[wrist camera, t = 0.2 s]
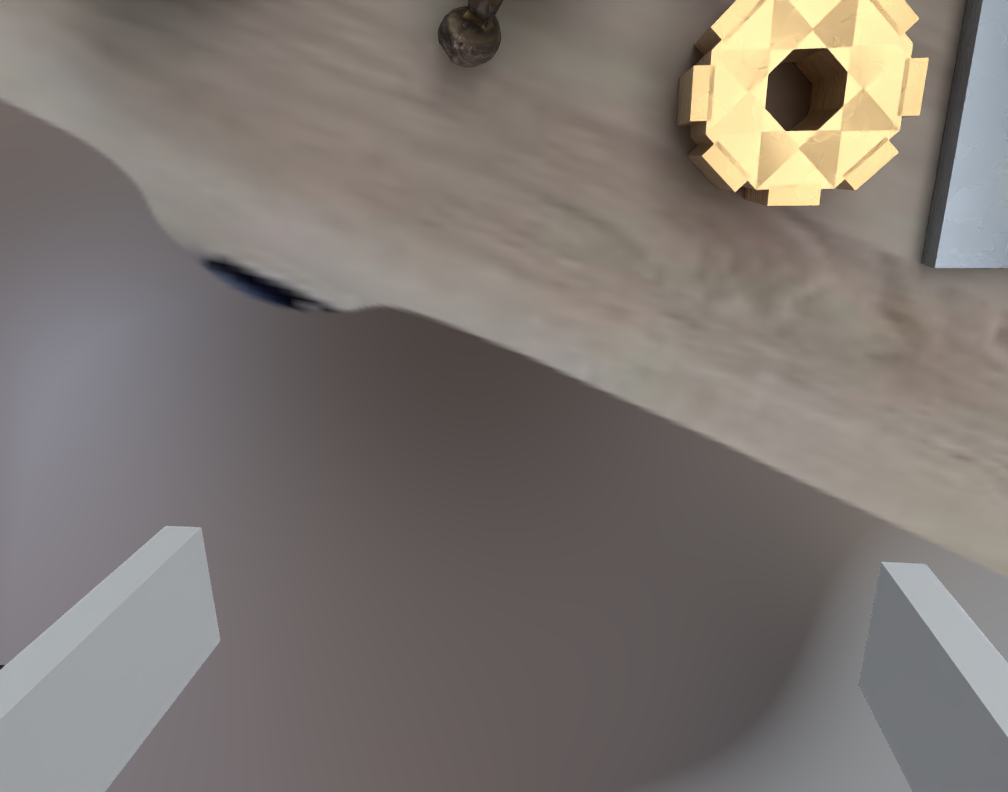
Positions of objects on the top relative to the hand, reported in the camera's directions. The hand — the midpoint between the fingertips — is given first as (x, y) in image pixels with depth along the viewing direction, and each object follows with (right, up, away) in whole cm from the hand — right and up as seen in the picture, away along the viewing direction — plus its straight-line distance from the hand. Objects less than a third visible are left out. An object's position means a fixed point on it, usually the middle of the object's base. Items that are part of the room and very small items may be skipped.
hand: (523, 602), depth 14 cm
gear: (+13, +19, +21) cm, 31 cm away
